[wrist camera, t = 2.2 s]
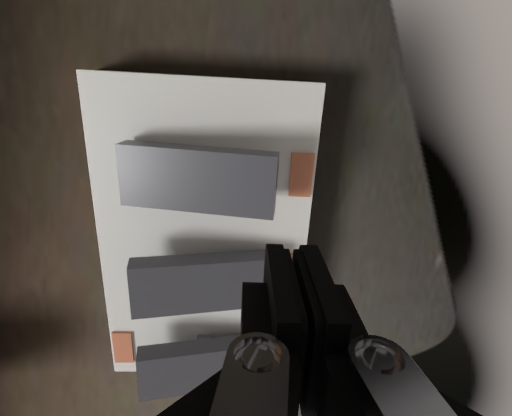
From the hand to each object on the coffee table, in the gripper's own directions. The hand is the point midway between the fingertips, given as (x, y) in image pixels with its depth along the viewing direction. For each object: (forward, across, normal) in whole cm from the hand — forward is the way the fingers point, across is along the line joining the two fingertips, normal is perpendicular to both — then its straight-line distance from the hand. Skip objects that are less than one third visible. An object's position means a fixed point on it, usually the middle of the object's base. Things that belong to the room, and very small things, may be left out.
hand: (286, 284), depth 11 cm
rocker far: (+11, +4, +13) cm, 17 cm away
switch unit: (+14, +4, +4) cm, 16 cm away
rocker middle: (+10, +4, +6) cm, 13 cm away
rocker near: (+10, +4, -1) cm, 11 cm away
